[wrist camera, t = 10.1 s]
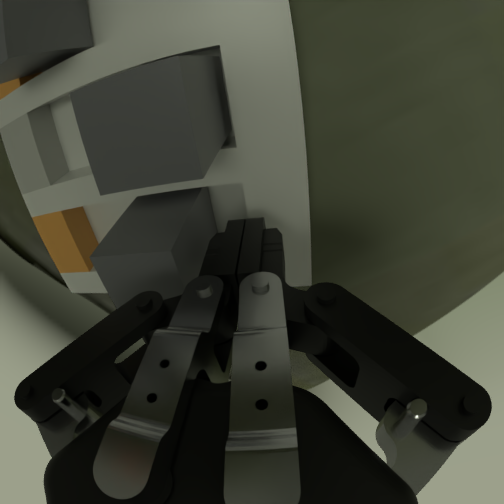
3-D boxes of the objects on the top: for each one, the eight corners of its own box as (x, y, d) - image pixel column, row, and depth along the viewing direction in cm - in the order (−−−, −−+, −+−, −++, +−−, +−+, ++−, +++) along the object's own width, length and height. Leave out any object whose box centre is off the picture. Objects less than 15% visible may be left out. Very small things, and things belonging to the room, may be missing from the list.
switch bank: (89, 266, 21) (71, 292, 18) (12, 15, 9) (-20, 18, 7) (307, 252, 18) (311, 285, 16) (266, -85, 7) (264, -110, 4)
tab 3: (161, 244, 17) (123, 320, 13) (142, 189, 15) (89, 257, 10) (219, 239, 17) (197, 321, 12) (206, 179, 15) (170, 251, 10)
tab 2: (160, 141, 14) (100, 195, 9) (144, 73, 12) (69, 93, 7) (231, 129, 13) (203, 179, 8) (219, 56, 11) (178, 55, 6)
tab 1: (44, 71, 11) (-38, 98, 6) (35, 19, 9) (-46, 30, 4) (93, 46, 11) (8, 58, 6) (85, -11, 8) (1, -18, 4)
